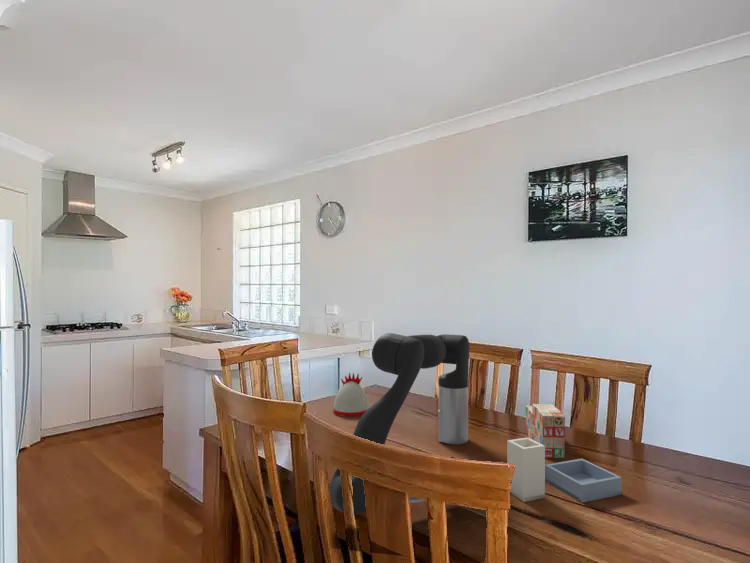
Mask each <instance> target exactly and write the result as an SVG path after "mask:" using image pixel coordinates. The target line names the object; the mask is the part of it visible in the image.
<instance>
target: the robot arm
mask: <svg viewBox="0 0 750 563" xmlns="http://www.w3.org/2000/svg"><path fill="white" fill-rule="evenodd" d="M371 357H372V362H373V364H374V366H375V367H376V368H377V369H379V370H381V371H382V372H385V373H388V374H392V375H396V376H397V377H396V379H395V380H394V383H393V384H392V386H391V387H390V388H389V389H388V391H386V393H385V394H384V395H383V396H382V397H380V398H379V400H377V401H375V402H374V404H372V405H371V406H369V409H368V410H367V411H366V412H365V413H364V414H363V415H362V416H360V418H359V420H358V421H357V424H356V426H355V429H354V432H353V433H352V436H353V435H355V436H358V437H361V438H364V439H368V440H370V441H374V442H376V443H380V444H384V445H385V444H386V441H387V438H388V436H389V433H390V430H391V428H392V426H393V424H394V421H395V419H396V417H397V415H398V413H399V412H400V410H401V408H402V406H403V405H404V402H405V400H406V398H407V396H408V394H409V393H410V391H411V388H413V385H414V383H415V381H416V378H417V377H418V375H419V373H420V371H421V369H431V368H435V367H438V366H439V365H441V364H447V365H456V366H455V369H453V371H451V372H447V373H443V374H441V375H439V377H438V410H437V412H438V414H437V415H438V416H437V420H438V421H437V422H438V423H437V428H438V430H437V432H438V433H437V434H438V435H437V438H438V439H437V440H438V442H439V443H444V444H448V445H463V444H466V443H468V441H469V369H470V368H469V367H470V366H469V364H470V341H469V338H468V337H467V336H466V335H461V334H460V335H459V334H448V333H447V334H446V333H444V334H438V335H434V334H414V335H408V336H407V335H403V334H397V333H392V332H389V333H388V332H386V333H384V334H383V335H381V336H380V337H378V338H377V340H376V341H375V342H374V344H373V347H372V351H371ZM450 457H451V458H455V457H454V456H450ZM467 460H476V459H475V458H469V459H467ZM329 483H330V484H329V487H328V489H329V488H330V495H331V503H332V505H331V506H332V507H333V508H334V509H336V510H337V511H339V512H341V513H344V509H343V497H342V486H341V476H340V470H339V469H338V467H337V468H336V470H335V471H334V474H333V476H332V478H331V481H330V482H329ZM352 486H353V503H354V514H353V515H359V514H363V513H367V512H366V508H365V494H364V486H363V480H362V479H360V478H357V477H354V476H353V477H352ZM425 501H426V500H424V499H418V498H415V497H410V502H409V503H419V502H425ZM331 503H330V504H331ZM344 514H345V513H344Z"/></svg>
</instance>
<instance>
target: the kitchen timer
mask: <svg viewBox="0 0 750 563" xmlns="http://www.w3.org/2000/svg"><path fill="white" fill-rule="evenodd" d="M359 375H360V374H359V373H357V374H356V378H355V373H354V372H352V376H351V373H350V372H349V373H348V377H347V375H344V378H345V379H343V378H340V380H341V383H342V384H343V385H341V386H340V388H339V390H338V391H337V392H336V393H337V394H336V396H335V398H334V402H333V410H332V411H333V414H334V413H335V414H334V415H336V414H337V415H336V416H339V415H340V416H339V417H344V416H347V417H348V418H353V417H354V418H356V416H357V417H362V415H363V414H364V413H365V412H366V411H367V410H368V409H369V408H370V403H369V399H368V396H367V395H368V393H367V392H366V391H365V389H364V387H363V386H362V385H361V384H360V383H361V382H362V379H363V376H361V377H360V376H359ZM344 380H345V381H344Z"/></svg>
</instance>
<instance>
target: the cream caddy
mask: <svg viewBox="0 0 750 563" xmlns="http://www.w3.org/2000/svg"><path fill="white" fill-rule="evenodd" d="M506 442H507V443H506V451H507V452H506V454H507V456H506V458H507V459H506V462H507V463H511V464H515V466H516V467H515V471H514V475H513V479H512V483H511V493H510V494H512V495H513V496H515V497H516V498H517V499H519V500H520V501H522V502H523V503H525V502H530V501H535V500H540V499H544V498H546V481H545V465H546V458H545V446H544V445H542V444H540V443H538V442H536V441H534V440H532V439H530V438H529V436H528V437H521V438H514V439H508V440H506ZM507 463H506V464H507Z"/></svg>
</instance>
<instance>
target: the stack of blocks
mask: <svg viewBox="0 0 750 563" xmlns="http://www.w3.org/2000/svg"><path fill="white" fill-rule="evenodd" d="M525 425H526V426H525V433H526V434H528V435H527V436H528V438H530V439H532V440H534V441H536V442H538V443H540V444H542V445H544V446H545V459H565V455H566V454H565V452H566V451H565V450H566V448H565V443H566V442H565V440H566V439H565V437H566V416H565V415H564V414H563V413H562V411H560V409H558V408H557V407H556V406H555V405H554V404H548V403H547V404H546V403H540V404H539V403H537V404H536V403H532V405H525Z"/></svg>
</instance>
